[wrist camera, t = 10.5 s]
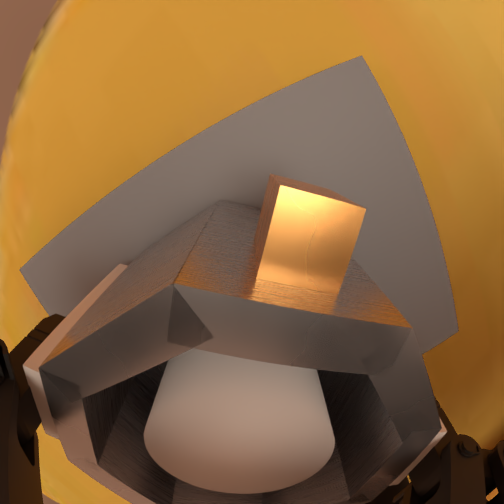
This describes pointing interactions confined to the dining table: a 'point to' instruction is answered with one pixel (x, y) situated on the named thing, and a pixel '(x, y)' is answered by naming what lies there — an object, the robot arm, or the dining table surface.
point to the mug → (247, 346)
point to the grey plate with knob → (252, 194)
